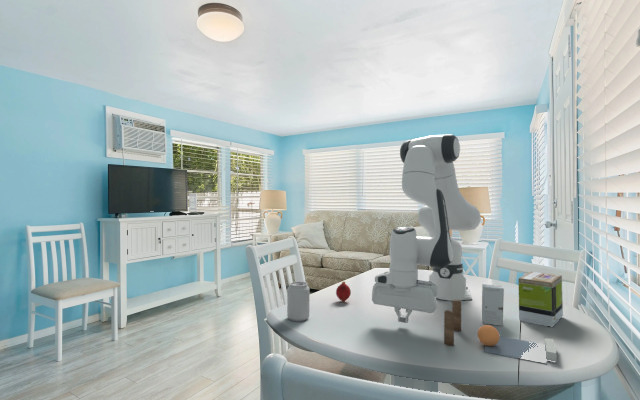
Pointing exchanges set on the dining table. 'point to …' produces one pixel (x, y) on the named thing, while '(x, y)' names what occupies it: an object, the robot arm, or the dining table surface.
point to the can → (298, 301)
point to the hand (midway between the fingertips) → (403, 322)
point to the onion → (343, 292)
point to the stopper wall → (550, 349)
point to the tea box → (540, 298)
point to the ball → (488, 335)
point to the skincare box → (492, 304)
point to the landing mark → (509, 347)
